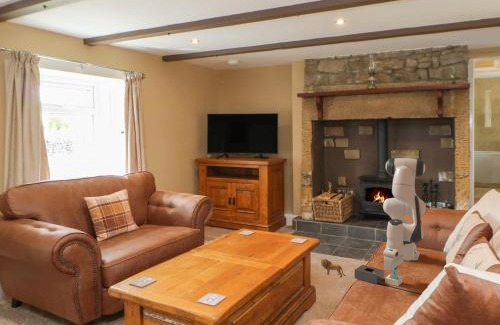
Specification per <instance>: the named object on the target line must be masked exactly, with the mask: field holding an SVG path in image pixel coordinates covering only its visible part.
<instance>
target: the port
mask: <svg viewBox="0 0 500 325" xmlns="http://www.w3.org/2000/svg"><path fill="white" fill-rule="evenodd" d="M354 279H356V280H360V281H363V282H367V283H371V284H375V285H378V284H379V283H380V282H381V281H383V280H385V269H382V268H381V269H380V268H376V267H372V266H370V265H364V264H361V265H360V266H358V267H356V268H355V269H354Z"/></svg>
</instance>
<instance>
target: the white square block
mask: <svg viewBox="0 0 500 325" xmlns="http://www.w3.org/2000/svg"><path fill="white" fill-rule="evenodd" d="M403 279H404V278H403V276H400V275H398V279H397V280H396V279H392V278H390V274H388V275H386V277H384V280H385V281H384V283H385V284H388V285H390V286H395V287H399V286H400V285H401V284H402V283H403Z"/></svg>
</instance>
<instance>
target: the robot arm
mask: <svg viewBox="0 0 500 325" xmlns="http://www.w3.org/2000/svg"><path fill="white" fill-rule="evenodd" d="M385 171H386V173H387V175H390V176H391V177H393V178H392V184H391V185H392V188H391V193H392V195H393V197H391V198H386V199H385V200H384V202H383V204H382V209H383V211H384V213H386V214H387V215H388V216H389V218H390V220H388V222H387V226H386V232H385V235H386V239H387V241H386V245H385V249H384V250H383V252H382V253H383V254H382V255H383V268H384V269H383V270H384V271H387V272H391V275H395V272H394V268H396V267H397V268H398V269H399V267H400V264H402V263H403V262H404V261H407V262H409V261H418V260H419V258H420V255H421V252H420V251H417V245H416V244H418V243H420V242H422V241H423V239H424V229H423V225H422V216H423V215H425V213H426V210H427V206H426V204H425V201H423V200H422V199H421V198H419V196H418V195H417V193H416V189H415V188H416V186H415V185H416V182H415V181H416V178H417V177H419V178H420V177H422V176H423V175H424V173H425V171H426V164H425V161H424V160H422V159H418V158H417V159H416V158H412V157H411V158H409V157H398V158H397V157H396V158H395V157H391V158H388V159H387V160H386V162H385ZM403 216H408V217H412V222H413V223H412V222H410V221H408V220H406V219H405V218H403Z"/></svg>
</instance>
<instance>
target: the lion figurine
mask: <svg viewBox="0 0 500 325" xmlns="http://www.w3.org/2000/svg"><path fill="white" fill-rule="evenodd" d="M320 265H321V266H322V267H323V269H325V270H326V271H327V272H326V275H327V276H330V272H331V271H336V272H337V274H336V275H337V276H339V278H342V277H346V274H344V270H343V268H342V266H341V265H340V264H337V263H336V264H335V263H332V262H331V261H330V260H328V259H326V258H322V259H320Z"/></svg>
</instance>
